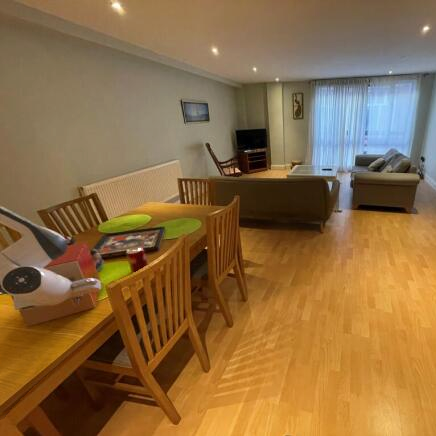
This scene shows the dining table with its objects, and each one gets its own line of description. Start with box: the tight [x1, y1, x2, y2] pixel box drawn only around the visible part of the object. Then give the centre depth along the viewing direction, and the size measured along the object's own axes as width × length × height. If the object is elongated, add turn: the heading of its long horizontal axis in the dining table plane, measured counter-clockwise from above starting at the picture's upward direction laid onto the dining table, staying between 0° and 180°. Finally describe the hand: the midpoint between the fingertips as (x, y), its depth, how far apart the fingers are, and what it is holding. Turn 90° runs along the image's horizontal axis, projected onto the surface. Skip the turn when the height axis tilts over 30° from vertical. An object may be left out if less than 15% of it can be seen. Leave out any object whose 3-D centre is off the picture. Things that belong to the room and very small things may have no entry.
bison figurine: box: [89, 247, 105, 273], centre depth 116 cm, size 12×7×10 cm, turn 14°
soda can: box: [125, 247, 149, 274], centre depth 116 cm, size 7×7×12 cm
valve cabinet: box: [43, 241, 103, 307], centre depth 94 cm, size 16×20×22 cm
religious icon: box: [92, 226, 166, 259], centre depth 144 cm, size 38×35×3 cm
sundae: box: [60, 233, 77, 246], centre depth 127 cm, size 7×7×15 cm
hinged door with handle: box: [9, 261, 96, 327], centre depth 85 cm, size 6×20×21 cm, turn 119°
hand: (71, 296), depth 86 cm, fingers open, 3 cm apart
